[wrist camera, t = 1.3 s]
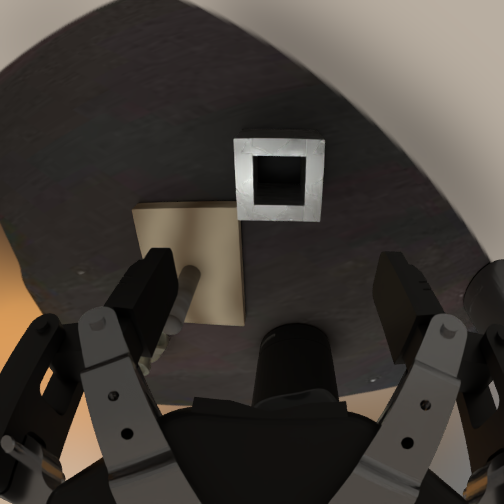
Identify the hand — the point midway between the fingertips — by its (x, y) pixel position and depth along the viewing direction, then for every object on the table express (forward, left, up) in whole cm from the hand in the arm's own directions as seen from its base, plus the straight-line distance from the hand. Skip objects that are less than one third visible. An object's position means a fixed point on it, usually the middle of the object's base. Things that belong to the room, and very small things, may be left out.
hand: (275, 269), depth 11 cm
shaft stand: (+8, +10, -15) cm, 20 cm away
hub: (0, 0, -15) cm, 15 cm away
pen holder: (-3, +22, -16) cm, 27 cm away
